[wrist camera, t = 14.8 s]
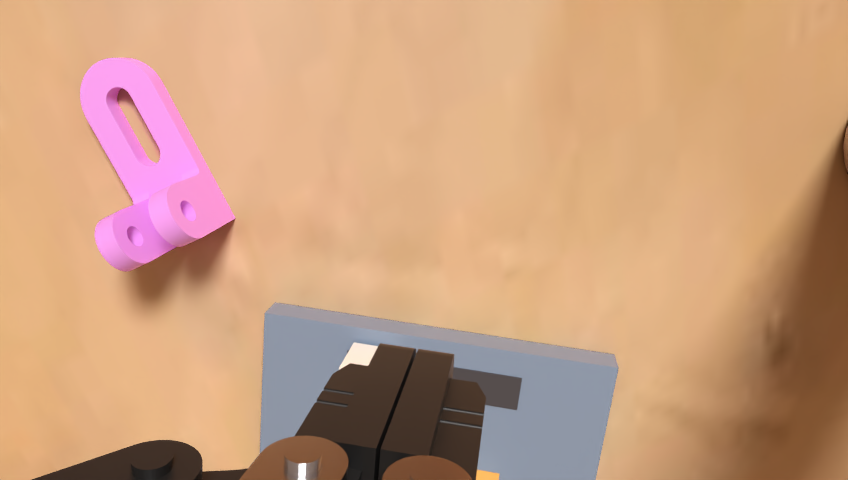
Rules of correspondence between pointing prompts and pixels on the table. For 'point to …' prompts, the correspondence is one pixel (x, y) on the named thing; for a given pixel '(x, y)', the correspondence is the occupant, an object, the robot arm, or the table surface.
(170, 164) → the bracket
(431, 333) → the switch bank
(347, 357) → the tab
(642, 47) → the table surface
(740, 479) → the table surface
